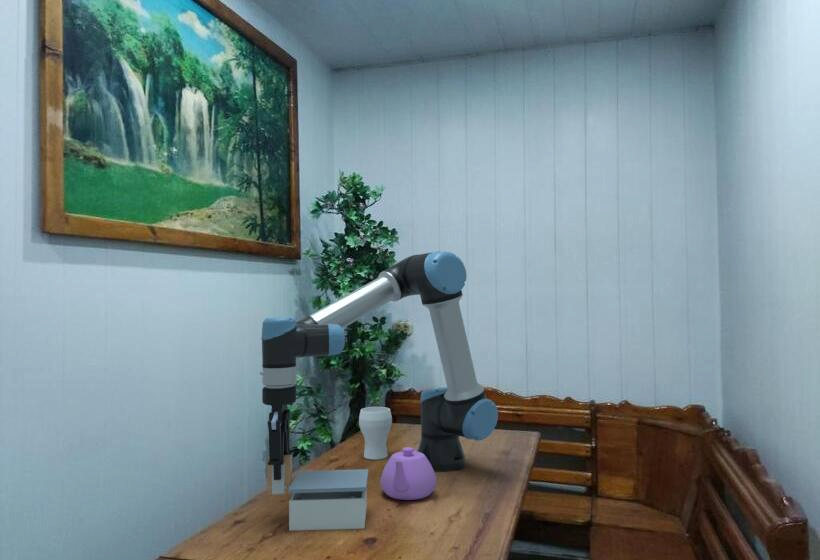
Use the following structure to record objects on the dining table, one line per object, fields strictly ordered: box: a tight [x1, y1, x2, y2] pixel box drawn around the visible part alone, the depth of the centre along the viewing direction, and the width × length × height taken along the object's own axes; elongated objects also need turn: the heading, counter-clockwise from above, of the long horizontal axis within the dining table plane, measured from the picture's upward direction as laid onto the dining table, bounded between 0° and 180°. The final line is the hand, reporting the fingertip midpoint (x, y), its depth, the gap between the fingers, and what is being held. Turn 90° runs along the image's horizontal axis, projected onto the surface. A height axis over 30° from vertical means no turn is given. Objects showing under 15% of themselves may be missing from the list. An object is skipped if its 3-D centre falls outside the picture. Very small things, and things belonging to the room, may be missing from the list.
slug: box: [340, 494, 356, 498], centre depth 123 cm, size 4×4×4 cm
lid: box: [266, 454, 369, 494], centre depth 121 cm, size 22×13×6 cm, turn 92°
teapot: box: [380, 446, 437, 501], centre depth 135 cm, size 20×14×12 cm
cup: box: [358, 406, 393, 460], centre depth 173 cm, size 11×11×15 cm
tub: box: [288, 487, 368, 532], centre depth 120 cm, size 16×12×7 cm
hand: (280, 490), depth 120 cm, fingers closed on lid, 3 cm apart
